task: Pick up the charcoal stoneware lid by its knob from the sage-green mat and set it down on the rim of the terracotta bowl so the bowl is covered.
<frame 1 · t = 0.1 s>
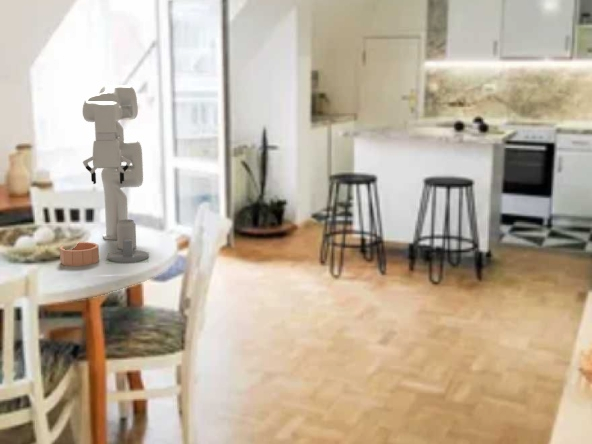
hand: (108, 183, 272), 31 cm above the table, fingers open, 9 cm apart
can: (127, 249, 301), on the table
lid: (128, 257, 286), resting on mat
bowl: (80, 261, 281), on the table
mat: (128, 258, 286), on the table
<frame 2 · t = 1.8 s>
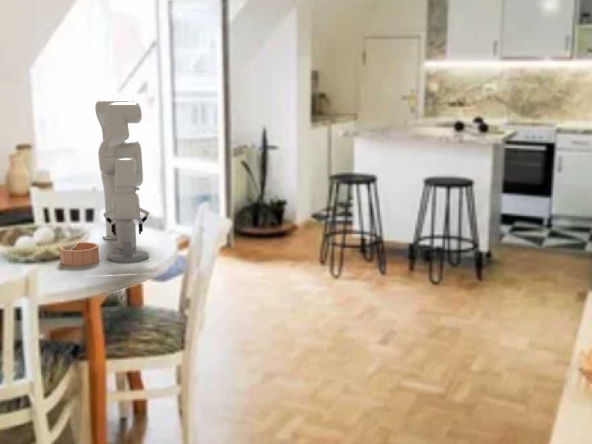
hand: (127, 234, 283), 10 cm above the table, fingers open, 9 cm apart
nothing on the table moved.
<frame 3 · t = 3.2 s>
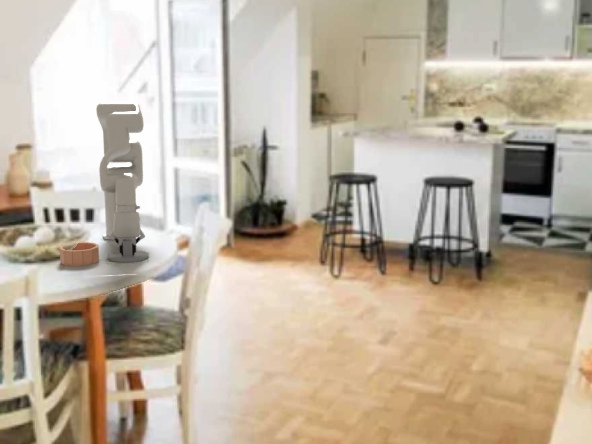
hand: (128, 254, 286), 2 cm above the table, fingers closed on lid, 3 cm apart
lid: (128, 257, 286), resting on mat, touching gripper
everything else where it was.
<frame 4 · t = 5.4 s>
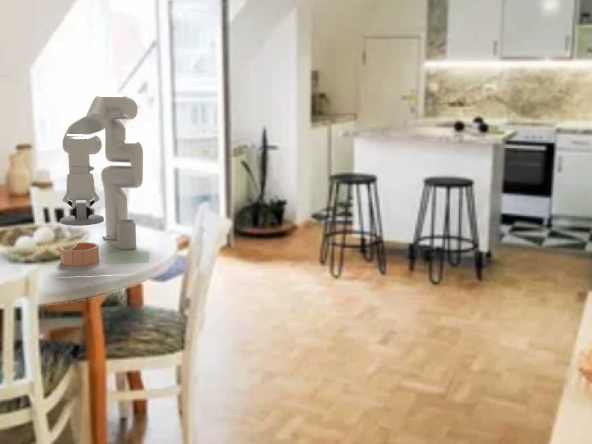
hand: (82, 217, 278), 17 cm above the table, fingers closed on lid, 3 cm apart
lid: (82, 221, 278), point 16 cm above the table, touching gripper
everything else where it was.
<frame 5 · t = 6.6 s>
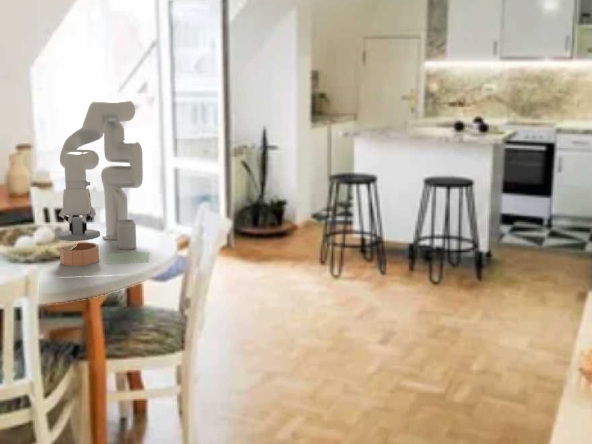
hand: (78, 232, 278), 12 cm above the table, fingers closed on lid, 3 cm apart
lid: (78, 236, 278), point 10 cm above the table, touching gripper
everything else where it was.
when the fingers open (9 cm above the table, at t = 7.4 s): lid drops 1 cm, resting on bowl.
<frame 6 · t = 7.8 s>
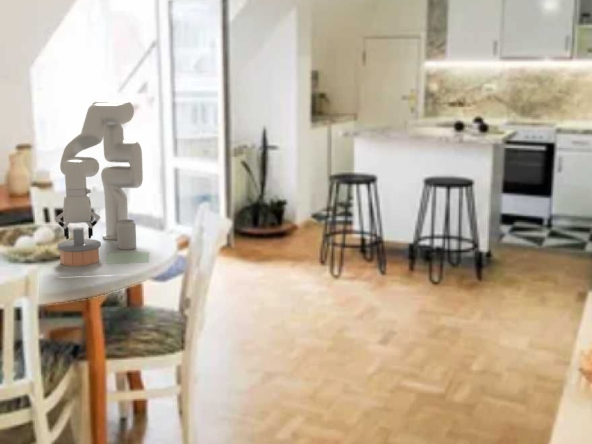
hand: (78, 237, 279), 9 cm above the table, fingers open, 7 cm apart
lid: (79, 246, 280), point 6 cm above the table, touching bowl
everything else where it was.
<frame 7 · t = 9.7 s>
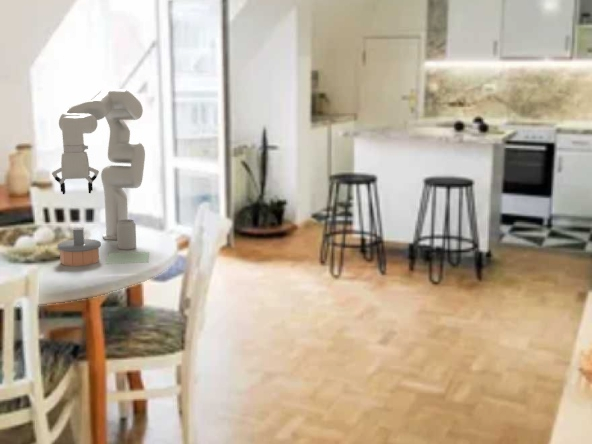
hand: (77, 193, 282), 26 cm above the table, fingers open, 9 cm apart
nothing on the table moved.
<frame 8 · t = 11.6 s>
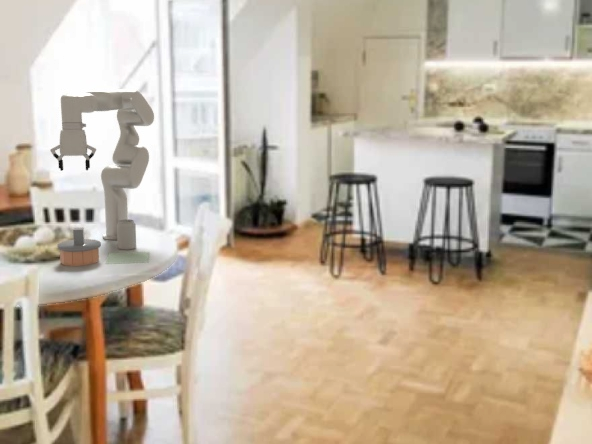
hand: (74, 170, 289), 33 cm above the table, fingers open, 9 cm apart
nothing on the table moved.
at the end: lid 0.1 cm off-centre on the bowl, point 6.0 cm above the bowl's base; lid tilted 0°; the gripper is holding nothing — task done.
